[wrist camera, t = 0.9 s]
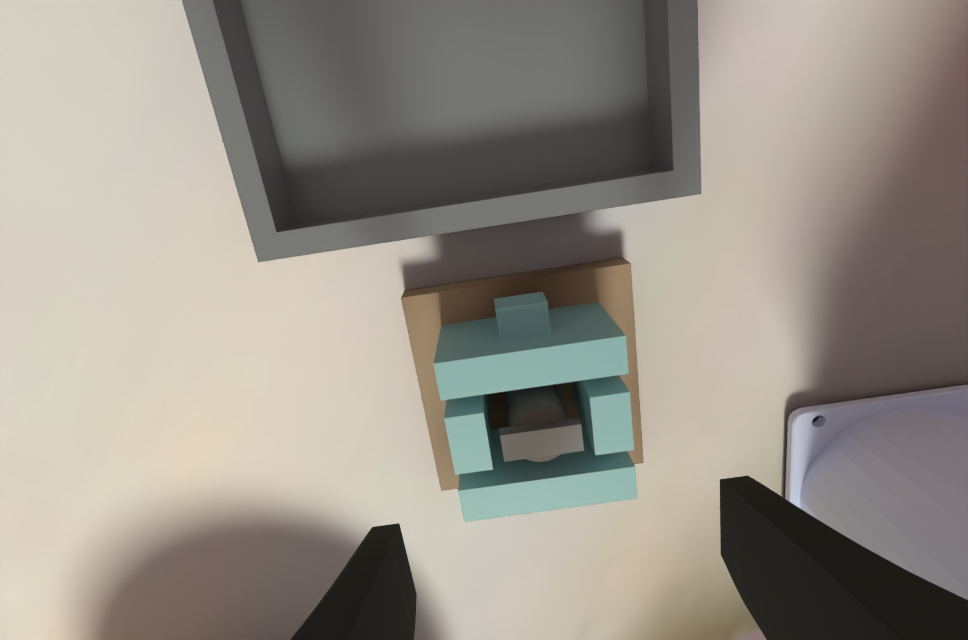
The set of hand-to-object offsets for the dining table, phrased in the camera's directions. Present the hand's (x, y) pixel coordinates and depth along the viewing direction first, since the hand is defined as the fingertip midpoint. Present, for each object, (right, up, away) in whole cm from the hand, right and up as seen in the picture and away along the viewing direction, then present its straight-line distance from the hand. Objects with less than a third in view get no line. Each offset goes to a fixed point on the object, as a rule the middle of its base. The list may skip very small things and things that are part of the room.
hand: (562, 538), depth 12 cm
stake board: (0, +3, +8) cm, 9 cm away
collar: (0, +3, +8) cm, 8 cm away
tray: (-3, +15, +5) cm, 16 cm away
